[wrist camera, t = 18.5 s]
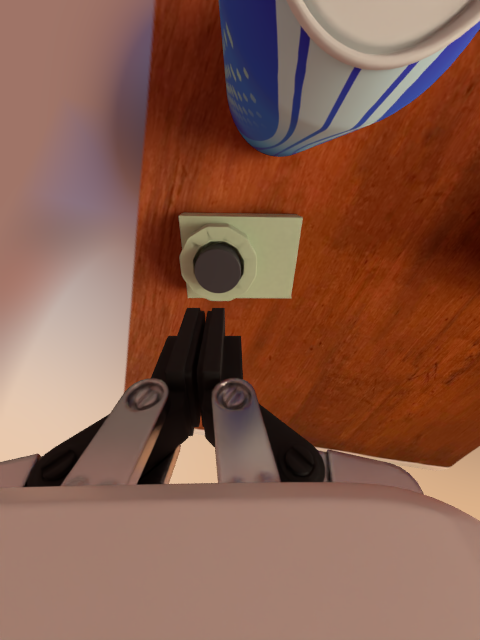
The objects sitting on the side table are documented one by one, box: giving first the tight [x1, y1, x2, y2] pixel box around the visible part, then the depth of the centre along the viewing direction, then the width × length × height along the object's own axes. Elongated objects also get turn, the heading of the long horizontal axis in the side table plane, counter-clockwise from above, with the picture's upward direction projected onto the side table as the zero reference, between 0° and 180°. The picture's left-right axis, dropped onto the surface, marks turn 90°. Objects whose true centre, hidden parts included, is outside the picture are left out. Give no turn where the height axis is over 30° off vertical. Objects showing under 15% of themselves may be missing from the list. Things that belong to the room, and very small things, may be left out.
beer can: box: [219, 0, 480, 157], centre depth 11 cm, size 8×8×16 cm
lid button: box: [194, 244, 241, 293], centre depth 20 cm, size 4×4×2 cm
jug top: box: [178, 213, 303, 301], centre depth 22 cm, size 11×8×4 cm
